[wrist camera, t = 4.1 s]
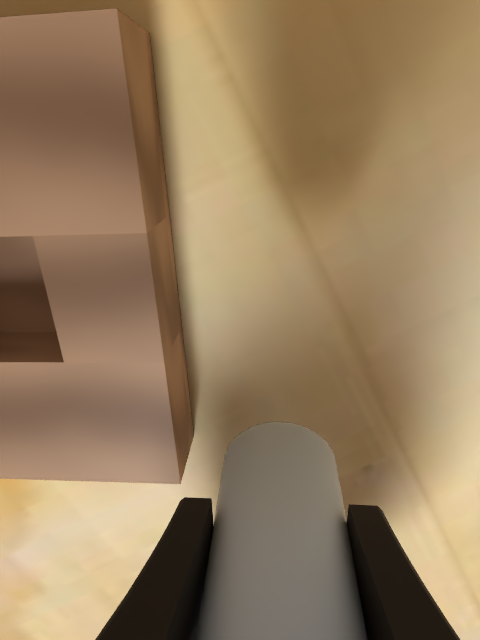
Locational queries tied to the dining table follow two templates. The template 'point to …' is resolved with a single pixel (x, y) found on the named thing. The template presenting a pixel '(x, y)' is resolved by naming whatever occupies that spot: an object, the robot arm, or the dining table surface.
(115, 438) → the socket block
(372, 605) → the robot arm
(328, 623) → the pin
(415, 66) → the dining table surface
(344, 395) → the dining table surface
